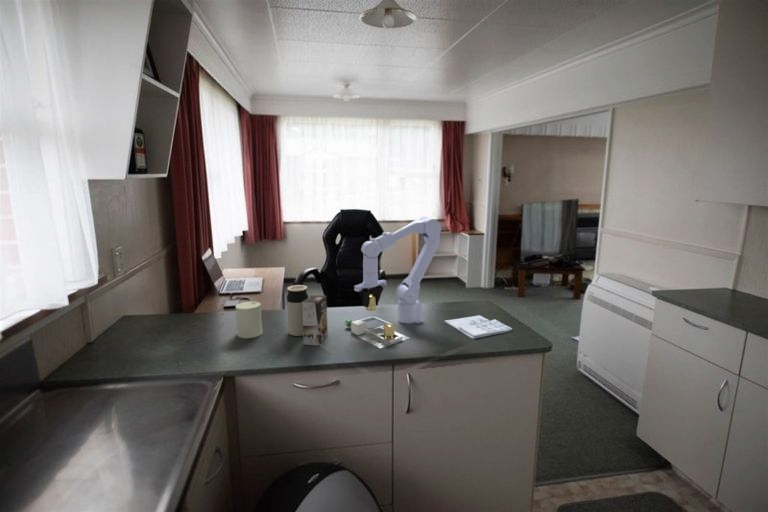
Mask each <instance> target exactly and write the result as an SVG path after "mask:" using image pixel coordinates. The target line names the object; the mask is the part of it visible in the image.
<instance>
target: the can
mask: <svg viewBox="0 0 768 512" xmlns="http://www.w3.org/2000/svg"><path fill="white" fill-rule="evenodd" d="M261 305H262V303H261V302H259V301H252V300H251V301H245V302H244V301H242V302H240V303H237V304H236V305H235V311H236V312H235V313H236V314H235V316H236V328H237V337H238V338H240V339H253V338H257V337H260V336H261V335H262V334H263V332H264V331H263V325H262V323H263V322H262V308H261Z"/></svg>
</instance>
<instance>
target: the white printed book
mask: <svg viewBox="0 0 768 512" xmlns="http://www.w3.org/2000/svg"><path fill="white" fill-rule="evenodd" d="M444 323H445V324H448V325H449V326H450V327H453V328H454V329H456V330H458V331H459V332H461V333H462V334H464V335H465V336H467V337H469V338H471V339H473V340H474V339H478V338H485V337H488V336H492V335H497V334H498V335H499V334H504V333H507V332H511V331H512V330H513V328H512V327H510V326H508V325H506V324H505V323H502V322H501V321H499V320H497V319H495V318H494V319H491V320H490V319H488V318H486V317H484V316H482V315H473V316H467V317H460V318H455V319H447V320H446V319H445V320H444Z"/></svg>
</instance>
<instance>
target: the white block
mask: <svg viewBox="0 0 768 512" xmlns="http://www.w3.org/2000/svg"><path fill="white" fill-rule="evenodd" d="M350 329H351V330H350V331H351V333H352V334H354V335H355V336H361V335H363V334H366V329H367V322H364V321H362V320H361V319H358V320H353V321H352V322H351V326H350Z"/></svg>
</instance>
